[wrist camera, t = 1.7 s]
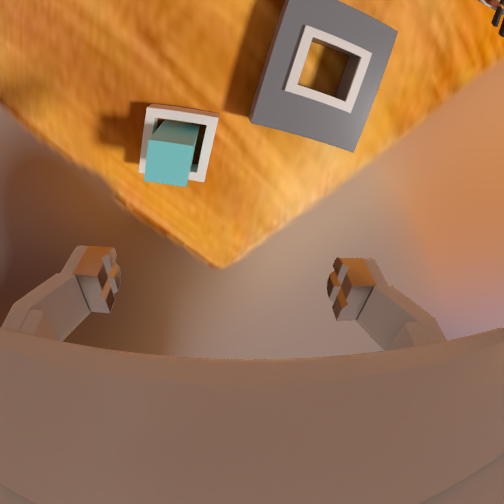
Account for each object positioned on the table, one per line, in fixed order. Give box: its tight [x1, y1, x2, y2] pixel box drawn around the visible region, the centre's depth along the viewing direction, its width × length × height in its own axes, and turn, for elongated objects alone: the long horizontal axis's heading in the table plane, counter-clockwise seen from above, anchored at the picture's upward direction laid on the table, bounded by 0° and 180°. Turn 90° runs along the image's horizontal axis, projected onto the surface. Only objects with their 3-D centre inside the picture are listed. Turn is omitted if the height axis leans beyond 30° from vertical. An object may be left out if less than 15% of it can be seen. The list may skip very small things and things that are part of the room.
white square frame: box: [139, 104, 219, 182], centre depth 29 cm, size 8×8×2 cm
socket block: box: [248, 0, 398, 152], centre depth 25 cm, size 12×16×3 cm
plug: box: [144, 120, 200, 187], centre depth 27 cm, size 4×4×8 cm
